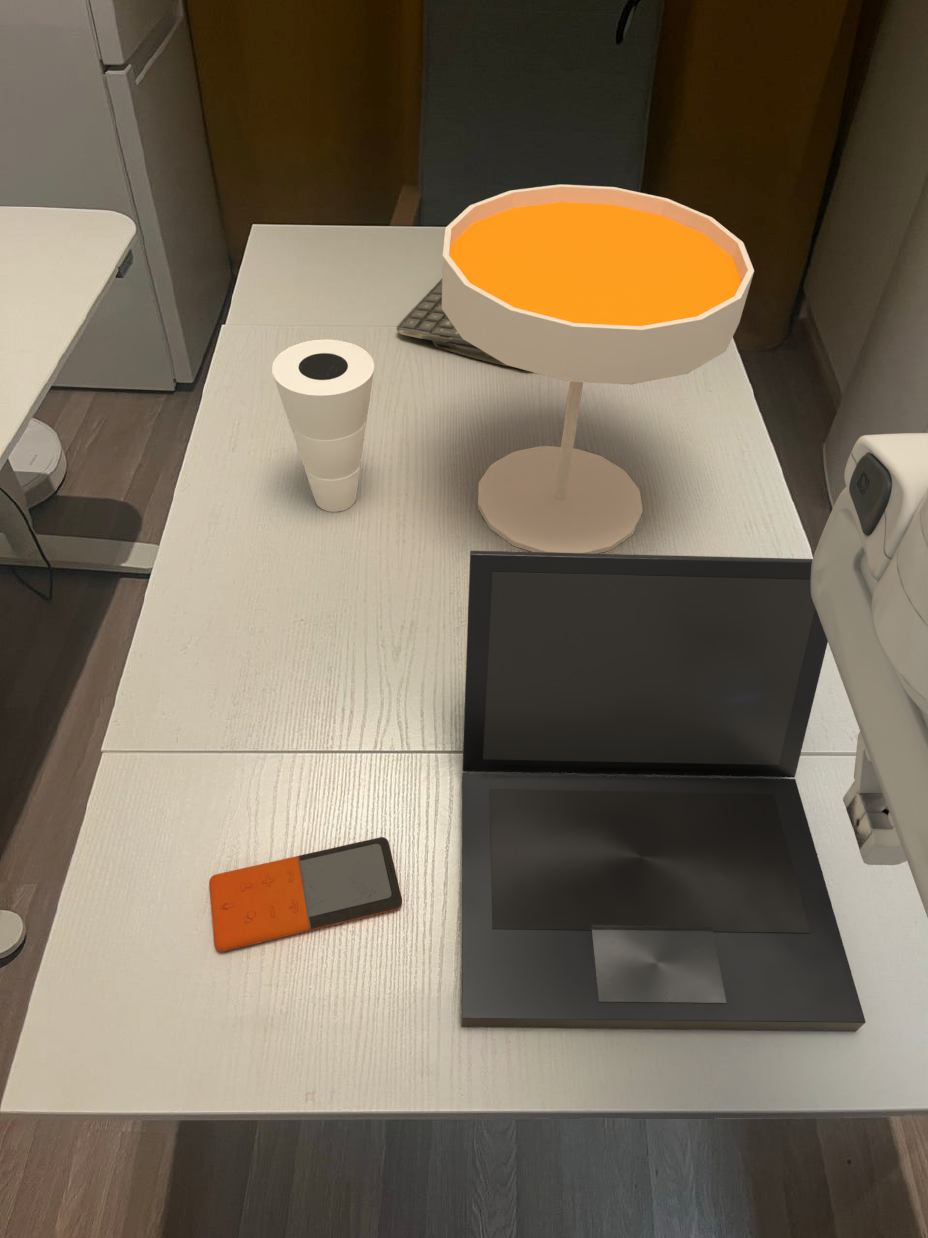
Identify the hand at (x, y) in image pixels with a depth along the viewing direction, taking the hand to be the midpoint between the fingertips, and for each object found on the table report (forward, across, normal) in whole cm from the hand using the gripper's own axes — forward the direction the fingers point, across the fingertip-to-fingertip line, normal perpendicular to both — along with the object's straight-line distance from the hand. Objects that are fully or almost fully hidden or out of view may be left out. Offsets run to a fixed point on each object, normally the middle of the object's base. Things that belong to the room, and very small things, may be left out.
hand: (870, 833), depth 37 cm
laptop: (+37, +110, +8) cm, 116 cm away
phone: (+37, +14, +29) cm, 49 cm away
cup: (+37, +64, +31) cm, 80 cm away
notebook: (+37, +14, +1) cm, 40 cm away
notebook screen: (+25, +29, +1) cm, 38 cm away
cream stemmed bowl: (+37, +65, +4) cm, 75 cm away
